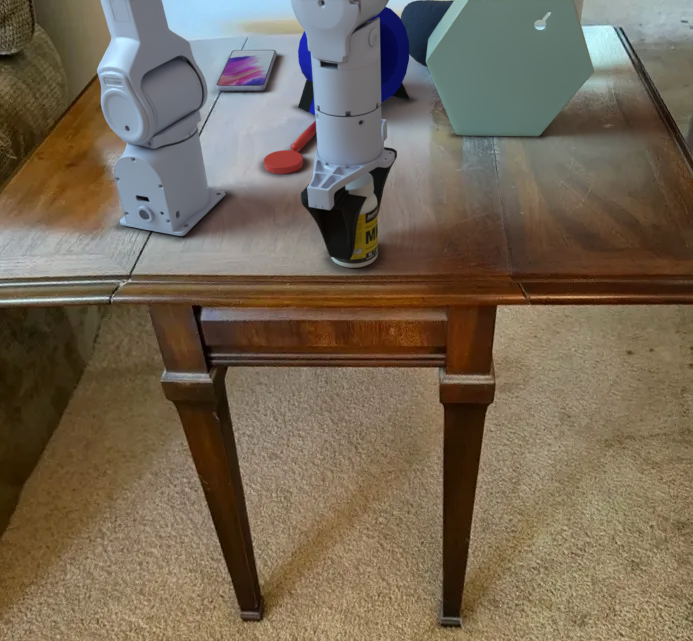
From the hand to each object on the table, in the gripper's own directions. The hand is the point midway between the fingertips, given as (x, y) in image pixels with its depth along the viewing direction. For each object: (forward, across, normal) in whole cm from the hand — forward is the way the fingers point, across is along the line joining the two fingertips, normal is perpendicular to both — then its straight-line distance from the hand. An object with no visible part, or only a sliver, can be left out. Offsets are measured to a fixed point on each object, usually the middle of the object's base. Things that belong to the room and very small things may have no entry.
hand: (353, 238), depth 74 cm
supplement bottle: (+2, 0, 0) cm, 2 cm away
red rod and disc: (+2, +20, +15) cm, 25 cm away
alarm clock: (+2, +35, +14) cm, 38 cm away
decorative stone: (+2, +51, +6) cm, 51 cm away
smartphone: (+2, +41, +33) cm, 53 cm away
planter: (+2, +34, -7) cm, 35 cm away
